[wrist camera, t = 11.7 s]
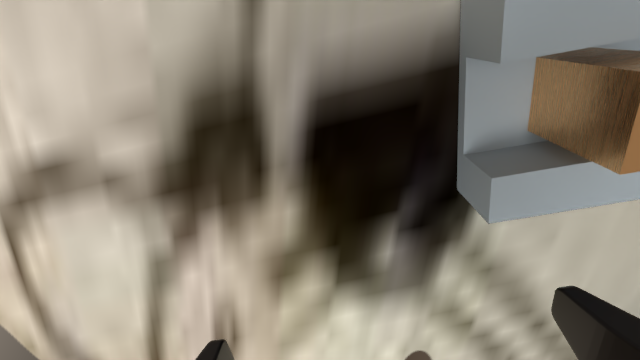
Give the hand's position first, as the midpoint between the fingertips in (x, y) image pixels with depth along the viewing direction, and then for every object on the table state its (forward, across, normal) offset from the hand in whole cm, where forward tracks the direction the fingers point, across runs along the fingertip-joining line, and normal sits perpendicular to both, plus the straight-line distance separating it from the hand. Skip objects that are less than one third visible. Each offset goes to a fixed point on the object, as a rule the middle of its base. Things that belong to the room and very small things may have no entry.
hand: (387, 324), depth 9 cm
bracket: (+12, -12, -2) cm, 17 cm away
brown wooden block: (+11, -12, -2) cm, 17 cm away
